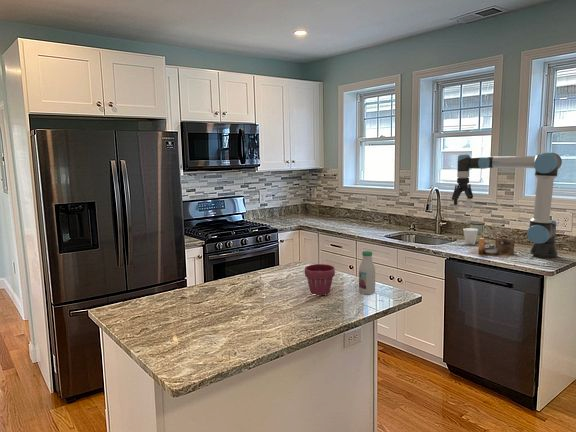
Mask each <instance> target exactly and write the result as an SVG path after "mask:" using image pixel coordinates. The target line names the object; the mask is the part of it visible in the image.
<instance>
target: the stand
mask: <svg viewBox="0 0 576 432" xmlns="http://www.w3.org/2000/svg"><path fill="white" fill-rule="evenodd" d="M495 248H498V249H499V254H498V255H487V254H478V248H474V249H471V250H470V251H468V252H467V254H471V255H478V256H483V257H484V256H485V257H493V258H500V259H508V258H509V257H511V256H512V255H514V254H515V239H513V238H504V237H503V238H502V237H495Z"/></svg>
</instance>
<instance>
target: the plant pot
mask: <svg viewBox="0 0 576 432" xmlns="http://www.w3.org/2000/svg"><path fill="white" fill-rule="evenodd" d="M335 270H336V269H335V266H334V265H330V264H324V263H317V264H316V263H315V264H310V265H307V266H305V267H304V275H305V277H306V279H307V284H308V288H309V293H310V292H311V293H312V294H316V295H325V294H328V293H329V294H330V292H331V287H332V283H333V278H334V277H335V275H336V274H335V273H336V272H335ZM311 293H310V294H311ZM312 294H311V295H312Z"/></svg>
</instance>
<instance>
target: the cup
mask: <svg viewBox="0 0 576 432" xmlns="http://www.w3.org/2000/svg"><path fill="white" fill-rule="evenodd" d="M462 230H463V234H464V241H465V245H475V244H476V243H475V241H476V236H477V232H478V229H473V228H470V227H467V228H463V229H462Z"/></svg>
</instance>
